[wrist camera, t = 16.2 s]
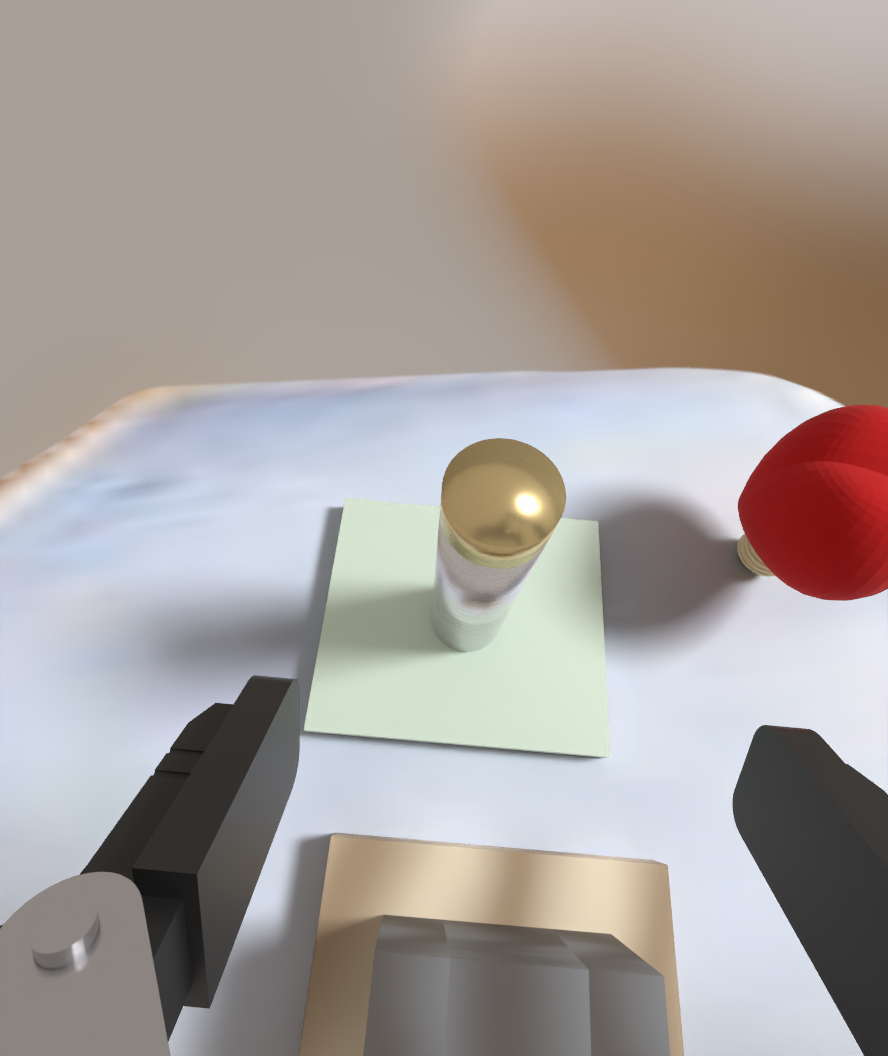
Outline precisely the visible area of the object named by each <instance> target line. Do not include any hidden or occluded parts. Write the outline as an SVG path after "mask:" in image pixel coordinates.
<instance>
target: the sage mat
mask: <svg viewBox="0 0 888 1056" xmlns="http://www.w3.org/2000/svg"><path fill="white" fill-rule="evenodd" d="M439 517H440V507H436V506H425V505H414V504H403V503H392V502H381V501H370V500H359V499H348V498H345V503H344V508H343V514H342V519H341V525H340V531H339V536H338V542H337V547H336V553H335V558H334V564H333V569H332V575H331V581H330V586H329V592H328V597H327V603H326V608H325V614H324V619H323V625H322V631H321V636H320V642H319V647H318V653H317V658H316V664H315V669H314V675H313V681H312V686H311V692H310V697H309V703H308V708H307V714H306V719H305V725H304V730H305V731H307V732H315V733H326V734H338V735H349V736H361V737H372V738H383V739H395V740H406V741H418V742H429V743H441V744H452V745H463V746H475V747H486V748H498V749H509V750H521V751H532V752H543V753H555V754H566V755H578V756H589V757H601V758H606V757H610V740H609V721H608V701H607V682H606V662H605V642H604V623H603V603H602V584H601V564H600V545H599V525H598V521H591V520H580V519H569V518H561V519H560V520H559V522H558V524H557V526H556V528H555V530H554V531H553V533H552V535H551V537H550V539H549V540H548V542H547V544H546V546H545V548H544V550H543V551H542V553H541V555H540V557H539V559H538V560H537V562H536V564H535V566H534V568H533V570H532V571H531V573H530V575H529V577H528V579H527V580H526V582H525V584H524V586H523V588H522V590H521V591H520V593H519V595H518V597H517V599H516V600H515V602H514V604H513V606H512V608H511V610H510V611H509V613H508V615H507V617H506V619H505V621H504V622H503V624H502V626H501V628H500V630H499V631H498V633H497V635H496V637H495V638H494V639H493V641H492V642H491V643H490V644H488V645H487V646H486V647H484V648H482V649H480V650H477V651H473V652H462V651H457V650H454V649H452V648H450V647H448V646H446V645H445V644H444V643H443V642H442V641H441V640H440V639H439V638H438V637H437V635H436V633H435V631H434V629H433V626H432V621H431V612H432V600H433V588H434V576H435V564H436V552H437V541H438V529H439Z"/></svg>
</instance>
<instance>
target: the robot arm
mask: <svg viewBox="0 0 888 1056" xmlns="http://www.w3.org/2000/svg"><path fill="white" fill-rule="evenodd" d="M299 748H300V741H299V683H298V680H297V679H288V678H278V677H267V676H256V675H254V676H252V677H251V678H250V679H249V681H248V682H247V684H246V685H245V687H244V689H243V690H242V692H241V693H240V695H239V697H238V698H237V700H236V701H235V703H234V705H233V704H222V703H215V704H214V705H212V706H211V707H209V708H208V709H207V710H205V711H204V712H203V713H201V714H200V715H198V716H197V717H196V718H194V719H193V720H192V721H190V722H189V723H188V724H187V725H186V727H185V728H184V730H183V731H182V733H181V734H180V735H179V737H178V738H177V740H176V741H175V742H174V744H173V745H172V747H171V748H170V752H169V753H167V754H166V755H165V756H164V758H163V759H162V761H161V762H160V763H159V765H158V766H157V768H156V769H155V773H154V775H153V776H150V778H149V779H148V780H147V782H146V783H145V785H144V786H143V787H142V789H141V790H140V792H139V793H138V794H137V796H136V797H135V799H134V800H133V801H132V803H131V804H130V806H129V807H128V808H127V810H126V811H125V813H124V814H123V816H122V817H121V818H120V820H119V821H118V823H117V824H116V825H115V827H114V828H113V830H112V831H111V832H110V834H109V835H108V837H107V838H106V839H105V841H104V842H103V844H102V845H101V846H100V848H99V849H98V851H97V852H96V854H95V855H94V856H93V858H92V859H91V861H90V862H89V863H88V865H87V866H86V867H85V868H84V870H83V871H82V872H81V873H80V875H78V876H74V877H72V878H69V879H66V880H63V881H61V882H59V883H57V884H55V885H53V886H51V887H49V888H47V889H46V890H44V891H42V892H41V893H39V894H37V895H36V896H35V897H33V898H32V899H31V900H29V901H28V902H27V903H25V904H24V905H23V906H22V907H21V908H20V909H18V910H17V911H16V912H15V913H14V914H13V915H12V916H11V917H10V918H9V919H8V920H7V922H6V923H5V924H4V925H1V926H0V1056H170V1051H169V1045H168V1041H169V1039H170V1036H171V1034H172V1031H173V1029H174V1027H175V1024H176V1022H177V1020H178V1017H179V1015H180V1012H181V1010H182V1008H183V1006H189V1007H200V1008H210V1006H211V1003H212V1001H213V998H214V995H215V993H216V990H217V987H218V985H219V982H220V979H221V977H222V974H223V971H224V969H225V966H226V963H227V961H228V958H229V955H230V953H231V950H232V947H233V945H234V942H235V939H236V937H237V934H238V931H239V929H240V926H241V923H242V921H243V918H244V916H245V913H246V910H247V908H248V905H249V902H250V900H251V897H252V894H253V892H254V889H255V886H256V884H257V881H258V878H259V876H260V873H261V870H262V868H263V865H264V862H265V860H266V857H267V854H268V852H269V849H270V846H271V844H272V841H273V838H274V836H275V833H276V830H277V828H278V825H279V823H280V820H281V817H282V815H283V812H284V809H285V807H286V804H287V801H288V799H289V796H290V793H291V791H292V788H293V785H294V781H295V777H296V773H297V767H298V761H299ZM733 814H734V819H735V823H736V826H737V828H738V831H739V833H740V835H741V837H742V839H743V840H744V842H745V844H746V846H747V847H748V849H749V851H750V853H751V855H752V856H753V858H754V860H755V862H756V863H757V865H758V867H759V869H760V871H761V872H762V874H763V876H764V878H765V880H766V881H767V883H768V885H769V887H770V888H771V890H772V892H773V894H774V896H775V897H776V899H777V901H778V903H779V904H780V906H781V908H782V910H783V912H784V913H785V915H786V917H787V919H788V920H789V922H790V924H791V926H792V928H793V929H794V931H795V933H796V935H797V937H798V938H799V940H800V942H801V944H802V945H803V947H804V949H805V951H806V953H807V954H808V956H809V958H810V960H811V961H812V963H813V965H814V967H815V969H816V970H817V972H818V974H819V976H820V978H821V979H822V981H823V983H824V985H825V986H826V988H827V990H828V992H829V994H830V995H831V997H832V999H833V1001H834V1002H835V1004H836V1006H837V1008H838V1010H839V1011H840V1013H841V1015H842V1017H843V1018H844V1020H845V1022H846V1024H847V1026H848V1027H849V1029H850V1031H851V1033H852V1035H853V1036H854V1038H855V1040H856V1042H857V1043H858V1045H859V1047H860V1049H861V1051H862V1052H863V1054H864V1056H888V795H887V794H886V793H885V791H884V790H882V789H881V788H880V787H878V786H877V785H875V784H874V783H873V782H871V781H870V780H869V779H867V778H866V777H865V776H863V775H862V774H860V773H859V772H858V771H856V770H855V769H854V768H852V767H851V766H849V765H848V764H845V763H844V762H843V761H842V760H841V758H840V757H839V756H838V755H837V754H836V753H835V752H834V751H833V750H832V748H831V747H830V746H829V745H828V744H827V743H826V742H825V741H824V740H823V739H822V737H821V736H820V735H819V734H817V733H816V732H815V731H813V730H810V729H802V728H791V727H781V726H770V725H763V726H761V727H759V728H758V729H757V731H756V732H755V734H754V737H753V739H752V742H751V745H750V748H749V751H748V754H747V756H746V759H745V762H744V765H743V768H742V771H741V773H740V776H739V779H738V782H737V785H736V788H735V790H734V794H733Z"/></svg>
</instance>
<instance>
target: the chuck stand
mask: <svg viewBox="0 0 888 1056" xmlns="http://www.w3.org/2000/svg"><path fill="white" fill-rule="evenodd" d="M299 1056H684V1050H683V1038H682V1026H681V1015H680V1003H679V992H678V980H677V969H676V957H675V946H674V934H673V923H672V911H671V899H670V888H669V876H668V865H666V864H663V863H660V862H657V861H654V860H645V859H633V858H621V857H610V856H598V855H587V854H575V853H563V852H552V851H540V850H529V849H517V848H505V847H494V846H482V845H471V844H459V843H447V842H436V841H424V840H413V839H401V838H389V837H378V836H366V835H354V834H343V833H335V834H334V835H332V836H331V840H330V847H329V854H328V860H327V867H326V874H325V881H324V887H323V894H322V901H321V908H320V915H319V921H318V928H317V935H316V942H315V949H314V955H313V962H312V969H311V976H310V982H309V989H308V996H307V1003H306V1010H305V1016H304V1023H303V1030H302V1037H301V1044H300V1050H299Z"/></svg>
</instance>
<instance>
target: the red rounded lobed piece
mask: <svg viewBox="0 0 888 1056" xmlns="http://www.w3.org/2000/svg"><path fill="white" fill-rule="evenodd" d="M738 511H739V517H740V521H741V524H742V527H743V530H744V532H745V534H744V535H743V536H742V537H741V538H740V540H739V542H738V546H737V551H738V555H739V557H740V559H741V561H742V563H743V564H744V565H745V566H746V567H747V568H748V569H749V570H751V571H752V572H754V573H756V574H759V575H762V576H774V575H775V576H776V577H778V578H779V579H780V580H781V581H783V582H784V583H785V584H786V585H788V586H790V587H791V588H793V589H795V590H797V591H799V592H801V593H803V594H805V595H808V596H812V597H816V598H820V599H824V600H853V599H859V598H863V597H868V596H872V595H875V594H878V593H880V592H882V591H884V590H886V589H888V408H885V407H881V406H876V405H853V406H846V407H841V408H837V409H833V410H829V411H827V412H824V413H822V414H820V415H818V416H815V417H813V418H811V419H809V420H807V421H805V422H803V423H802V424H800V425H799V426H797V427H796V428H795V429H793V430H792V431H791V432H789V433H788V434H786V435H785V436H784V437H783V438H781V439H780V440H779V441H778V442H777V443H776V445H775V446H774V447H773V448H772V449H771V450H770V451H769V452H768V453H767V454H766V455H765V456H764V457H763V459H762V460H761V461H760V463H759V464H758V466H757V467H756V469H755V470H754V471H753V473H752V474H751V476H750V478H749V479H748V481H747V484H746V486H745V488H744V490H743V492H742V494H741V496H740V498H739V501H738Z"/></svg>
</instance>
